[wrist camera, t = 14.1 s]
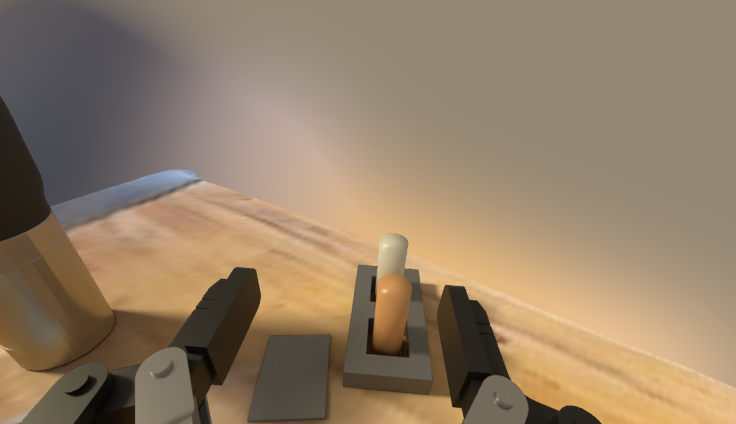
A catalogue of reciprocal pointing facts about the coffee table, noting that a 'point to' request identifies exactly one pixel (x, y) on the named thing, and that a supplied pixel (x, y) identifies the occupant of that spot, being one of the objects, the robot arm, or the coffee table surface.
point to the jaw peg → (391, 314)
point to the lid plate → (292, 379)
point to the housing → (365, 367)
